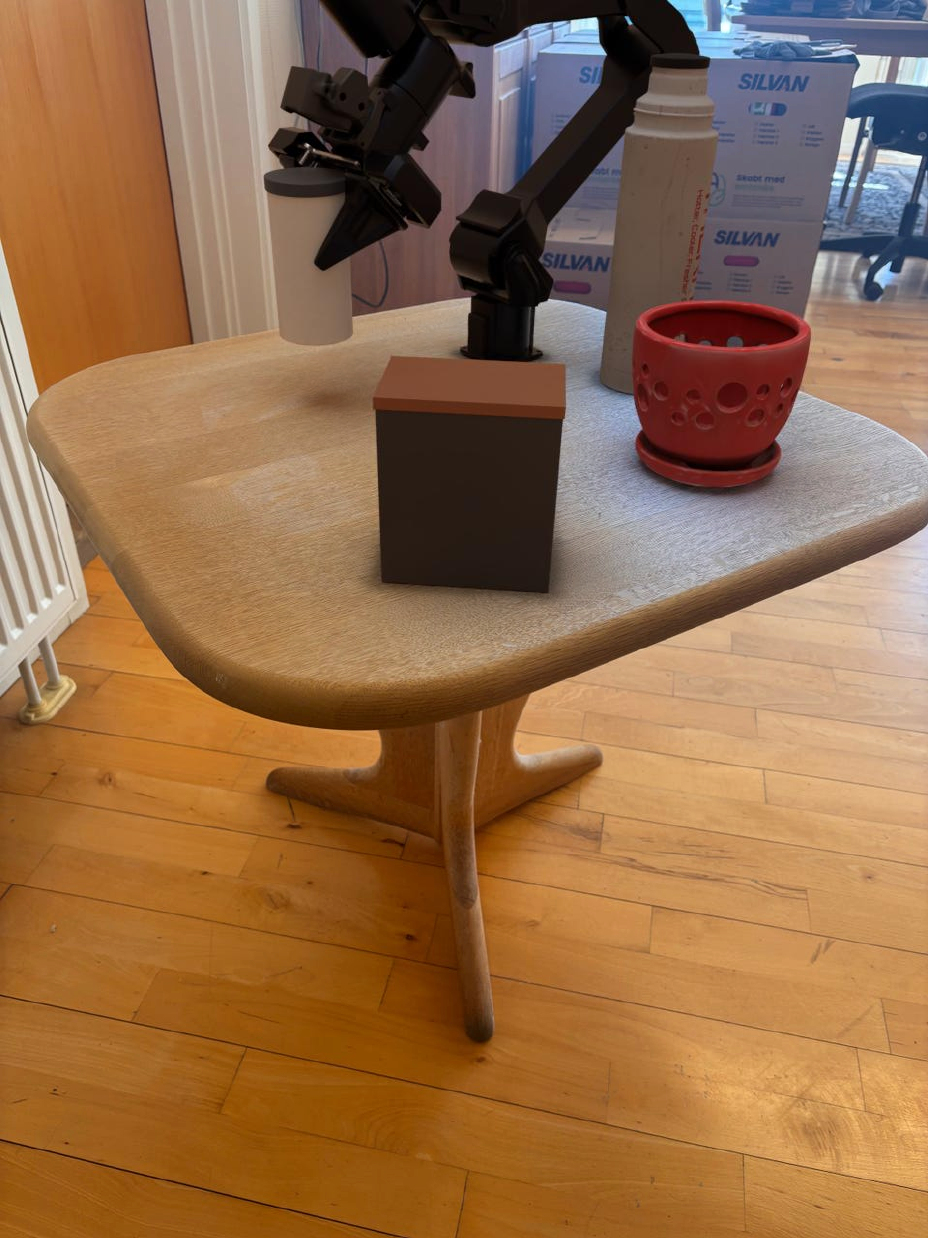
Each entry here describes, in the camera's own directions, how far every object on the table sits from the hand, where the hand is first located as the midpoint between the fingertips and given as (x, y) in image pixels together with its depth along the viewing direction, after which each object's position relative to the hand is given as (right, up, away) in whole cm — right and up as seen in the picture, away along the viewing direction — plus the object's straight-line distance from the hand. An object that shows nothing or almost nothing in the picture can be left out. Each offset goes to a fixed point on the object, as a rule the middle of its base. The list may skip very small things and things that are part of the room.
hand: (296, 258), depth 79 cm
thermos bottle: (+32, -7, +14) cm, 36 cm away
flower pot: (+34, -18, -1) cm, 38 cm away
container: (+1, -5, +5) cm, 7 cm away
